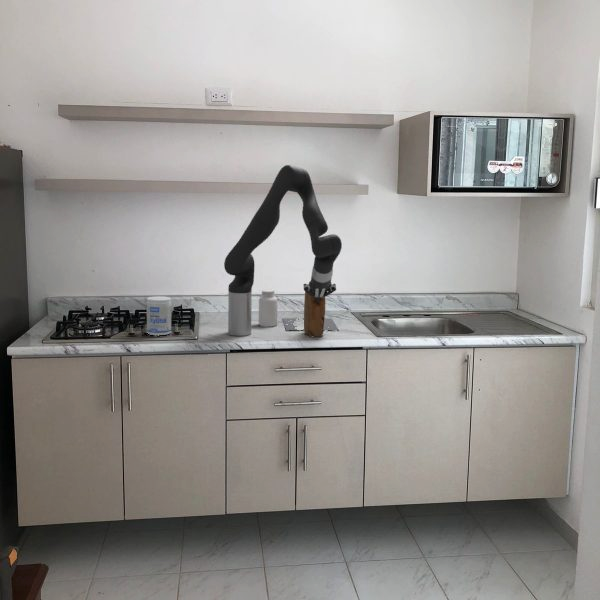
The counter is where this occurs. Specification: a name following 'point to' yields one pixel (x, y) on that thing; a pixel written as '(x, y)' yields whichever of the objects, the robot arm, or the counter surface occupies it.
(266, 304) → the pill bottle
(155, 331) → the supplement tub
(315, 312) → the brown rounded chunk
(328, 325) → the mat
